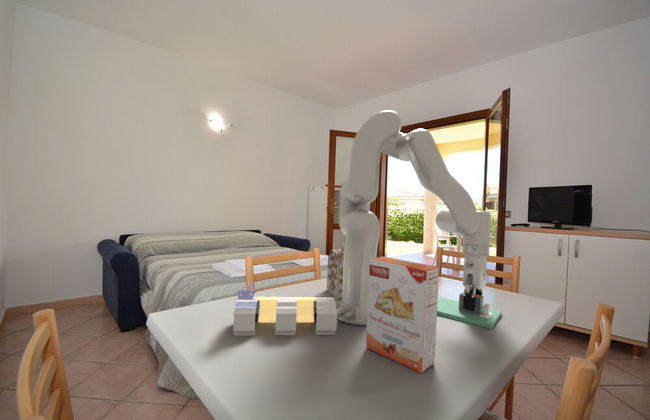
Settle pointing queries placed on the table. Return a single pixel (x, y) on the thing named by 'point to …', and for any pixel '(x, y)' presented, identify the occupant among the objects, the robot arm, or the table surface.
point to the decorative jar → (335, 272)
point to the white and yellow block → (283, 313)
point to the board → (452, 311)
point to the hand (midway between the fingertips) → (472, 306)
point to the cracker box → (403, 311)
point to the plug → (477, 304)
